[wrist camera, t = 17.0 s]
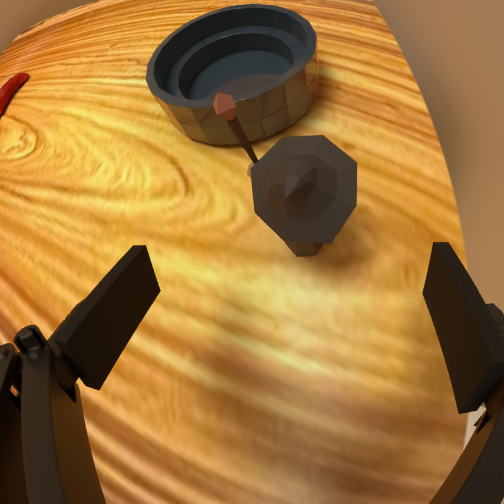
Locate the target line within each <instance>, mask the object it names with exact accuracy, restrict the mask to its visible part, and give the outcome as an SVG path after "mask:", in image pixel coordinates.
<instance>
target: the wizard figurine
mask: <svg viewBox="0 0 504 504" xmlns="http://www.w3.org/2000/svg"><path fill="white" fill-rule="evenodd" d="M213 105H214V108H215V110H216V113H217V115H218V116H220V117H222V118H225V119H227V121H228V123H229V125H230V127H231V128H232V130H233V131H234V133H235V134H236V136H237V138H238V139H239V141H240V142H241V144H242V145H243V147H244V149H245V150H246V152H247V153H248V155H249V157H250V158H251V160H252V161H253V163H252V164H250V165H249V167H248V173H247V175H248V176H249V177H250V178H251V181H252V191H253V201H254V211H255V213H256V214H257V215H258V216H259V217H260V218H261V219H262V220H263V221H264V222H265V223H266V224H267V225H268V226H269V227H270V228H271V229H272V230H273V231H274V232H275V233H276V234H277V235H278V236H279V237H280V238H281V239H282V240H283V241H285V243H286V244H287V245H288V247H289V248H290V249H291V250H292V251H293V253H294V254H295V255H296V256H309V255H316V253H317V252H318V251H319V249H320V248H321V247H322V246H323V244H324V243H332V242H333V240H334V239H335V237H336V236H337V234H338V233H339V231H340V230H341V228H342V227H343V225H344V224H345V222H346V221H347V219H348V218H349V216H350V215H351V213H352V212H353V210H354V208H355V207H356V201H357V162H356V161H354V160H353V159H352V158H351V157H349V156H348V155H347V154H346V153H345V152H343V151H342V150H341V149H340V148H338V147H337V146H336V145H335V144H333V143H332V142H331V141H330V140H328V139H327V138H326V137H324V136H323V135H314V136H297V137H282V138H281V139H280V140H279V141H278V142H277V143H276V144H275V145H274V146H273V147H272V148H271V149H270V150H269V151H268V152H267V153H266V154H265V155H264V156H263V157H262V158H261V159H260V160H259V161H258V159H257V157H256V155H255V153H254V151H253V149H252V147H251V144H250V142H249V140H248V138H247V136H246V134H245V132H244V130H243V128H242V126H241V124H240V122H239V120H238V118H237V116H236V114H235V112H236V105H235V103H234V101H233V99H232V97H231V95H227V94H222V93H217V94H216V97H215V100H214V102H213Z"/></svg>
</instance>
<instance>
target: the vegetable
mask: <svg viewBox="0 0 504 504" xmlns="http://www.w3.org/2000/svg"><path fill="white" fill-rule="evenodd" d="M28 77H29V74H28V73H19V74H17V75H15V76H14V77H12V78H10V79H9V80H8V81H7V82H6V83H5V84H4V85H3V86H2V88H1V89H0V115H1V114H2V113H3V111H4V109H5V107H6V105H7V104H8V102H9V100H10V98H11V96H12V95H13V93H14V92H15V90H16V89H17V88H18V87H19V86H20V85H22V84H23V83H24V82H25V81H26V80H27V79H28Z"/></svg>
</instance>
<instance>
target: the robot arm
mask: <svg viewBox="0 0 504 504" xmlns="http://www.w3.org/2000/svg"><path fill="white" fill-rule="evenodd" d="M160 291H161V290H160V287H159V285H158V282H157V279H156V276H155V272H154V269H153V266H152V263H151V260H150V257H149V254H148V250H147V247H146V245H133V246H132V247H131V248H130V249H129V250H128V252H127V253H126V254H125V255H124V256H123V257H122V258H121V259H120V260H119V261H118V262H117V263H116V265H115V266H114V267H113V268H112V269H111V270H110V271H109V272H108V273H107V275H106V276H105V277H104V278H103V279H102V280H101V281H100V282H99V284H98V285H97V286H96V287H95V288H94V289H93V290H92V292H91V293H90V294H89V295H88V296H87V297H86V298H85V299H84V300H82V301H81V302H80V303H78V304H77V305H76V306H75V307H74V308H73V310H72V311H71V312H70V314H68V316H67V317H66V318H65V320H63V322H62V323H61V324H60V325H59V327H58V328H57V329H56V330H55V332H54V333H53V334H52V335H51V337H50V338H49V339H48V340H46V339H45V337H44V336H43V334H42V333H41V331H40V329H39V328H38V327H37V326H36V325H29V326H26V327H24V328H22V329H21V330H20V331H19V332H18V333H17V334H16V336H15V337H14V340H13V341H14V343H15V344H16V346H17V347H18V349H19V350H20V352H18V351H17V350H16V348H15V347H14V345H13V344H11V343H6V344H3V345H1V346H0V504H106V502H105V498H104V495H103V492H102V489H101V486H100V482H99V479H98V476H97V472H96V468H95V465H94V461H93V457H92V453H91V449H90V444H89V440H88V435H87V430H86V425H85V420H84V415H83V409H82V403H81V397H80V390H79V387H78V384H77V383H76V381H77V379H78V378H80V379H81V380H82V382H83V383H84V384H85V386H87V387H90V388H93V389H97V390H100V388H101V387H102V385H103V383H104V382H105V380H106V378H107V376H108V375H109V373H110V371H111V370H112V368H113V366H114V365H115V363H116V361H117V360H118V358H119V356H120V355H121V353H122V351H123V350H124V348H125V346H126V345H127V343H128V342H129V340H130V338H131V337H132V335H133V334H134V332H135V330H136V329H137V327H138V326H139V324H140V322H141V321H142V319H143V318H144V316H145V314H146V313H147V311H148V310H149V308H150V307H151V305H152V304H153V302H154V300H155V299H156V297H157V296H158V294H159V293H160ZM422 294H423V296H424V299H425V302H426V304H427V307H428V310H429V313H430V315H431V318H432V321H433V324H434V327H435V330H436V333H437V336H438V339H439V342H440V345H441V349H442V352H443V355H444V358H445V362H446V365H447V369H448V372H449V376H450V380H451V384H452V388H453V392H454V396H455V400H456V404H457V408H458V413H459V414H462V413H468V412H473V411H477V410H478V408H479V407H480V406H481V404H482V403H483V402H484V403H485V406H486V411H485V412H484V413H483V415H482V416H481V417H480V418H479V419H478V420H477V422H476V423H475V424H474V426H477V427H476V429H475V431H474V433H473V435H472V437H471V439H470V441H469V442H468V444H467V446H466V448H465V449H464V451H463V453H462V455H461V456H460V458H459V460H458V461H457V463H456V465H455V466H454V468H453V469H452V471H451V473H450V474H449V476H448V477H447V479H446V480H445V482H444V483H443V485H442V486H441V488H440V489H439V490H438V492H437V493H436V495H435V496H434V497H433V499H432V500H431V502H430V503H429V504H500V503H501V501H502V500H503V498H504V314H503V313H502V311H501V310H500V309H499V308H497V307H496V306H495V305H494V304H493V303H492V304H485V302H484V300H483V298H482V297H481V295H480V293H479V291H478V289H477V288H476V286H475V284H474V282H473V281H472V279H471V277H470V276H469V274H468V272H467V271H466V269H465V268H464V266H463V264H462V263H461V261H460V260H459V258H458V256H457V255H456V253H455V252H454V250H453V249H452V247H451V246H450V244H449V243H448V242H433V246H432V252H431V257H430V262H429V267H428V271H427V276H426V280H425V285H424V289H423V293H422ZM11 385H12V386H13V387H14V388H15V389H16V391H17V395H16V396H15V395H14V394H13V393H12V392H11V391H10V389H11Z"/></svg>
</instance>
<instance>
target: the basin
mask: <svg viewBox="0 0 504 504" xmlns="http://www.w3.org/2000/svg"><path fill="white" fill-rule="evenodd" d="M319 76H320V75H319V59H318V46H317V35H316V33H315V31H314V29H313V28H312V26H311V24H310V23H309V21H308V20H306V19H305V18H303V17H302V16H300V15H299V14H297V13H296V12H294V11H291V10H288V9H285V8H282V7H279V6H274V5H263V4H245V5H236V6H230V7H226V8H222V9H218V10H215V11H211V12H208V13H206V14H204V15H202V16H199V17H197V18H195V19H193V20H191V21H189V22H187V23H185V24H184V25H183V26H181V27H180V28H178V29H177V30H175V31H174V32H172V33H171V34H170V35H169V36H168V37H167V38H166V39H165V40H164V41H163V42H162V43H161V44H160V45H159V46H158V47H157V48H156V50H155V51H154V53H153V55H152V57H151V59H150V61H149V62H148V65H147V73H146V82H147V84H148V86H149V89H150V91H151V93H152V95H153V96H154V97H155V99H156V100H157V102H158V103H159V104H160V106H161V107H162V109H163V110H164V111H165V113H166V114H167V116H168V117H169V118H170V120H171V121H172V123H173V124H174V125H175V127H176V128H177V129H179V130H180V131H181V132H183V133H184V134H185V135H186V136H188V137H189V138H192V139H195V140H198V141H202V142H205V143H209V144H235V145H237V144H241V142H240V141H239V139H238V138H237V136H236V134H235V133H234V131H233V130H232V128H231V127H230V125H229V123H228V121H227V119H225V118H222V117H220V116H218V115H217V113H216V110H215V108H214V105H213V102H214V100H215V97H216V94H217V93H222V94H227V95H231V97H232V99H233V101H234V103H235V105H236V112H235V114H236V116H237V118H238V120H239V122H240V124H241V126H242V128H243V130H244V132H245V134H246V136H247V138H248V140H249V142H250V141H255V140H259V139H263V138H266V137H268V136H270V135H272V134H274V133H276V132H278V131H281V130H283V129H285V128H287V127H289V126H291V125H292V124H293V123H294V122H295V121H297V120H298V119H299V118H300V117H301V116H302V115H303V114H305V113H306V112H307V111H308V110H309V108H310V107H311V105H312V103H313V101H314V99H315V97H316V96H317V94H318V92H319Z"/></svg>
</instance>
